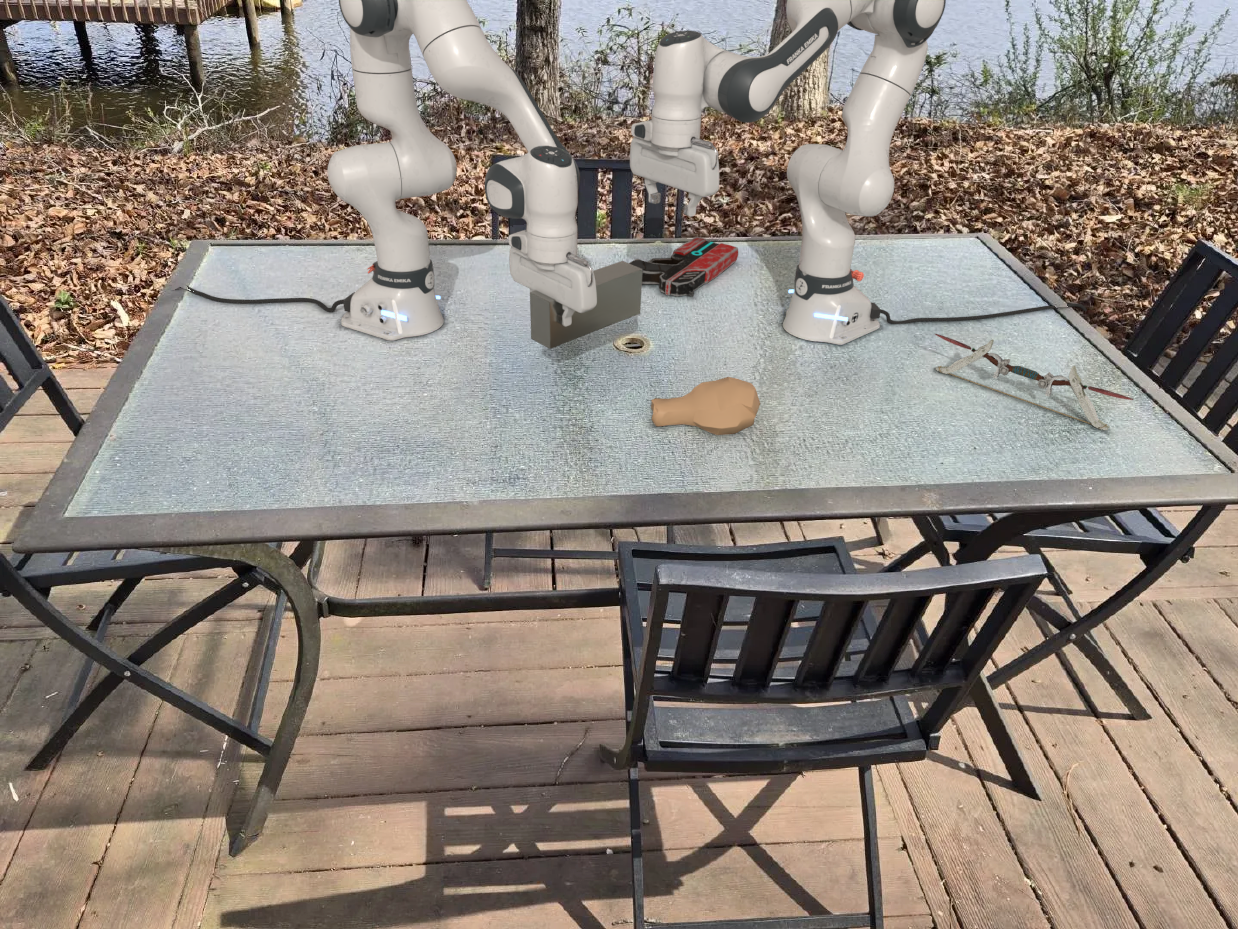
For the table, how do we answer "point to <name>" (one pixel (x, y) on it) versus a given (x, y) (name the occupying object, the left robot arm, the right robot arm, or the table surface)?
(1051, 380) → the bow
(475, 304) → the table surface
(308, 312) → the table surface
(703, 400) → the squash
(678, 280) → the gun
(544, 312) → the bar
